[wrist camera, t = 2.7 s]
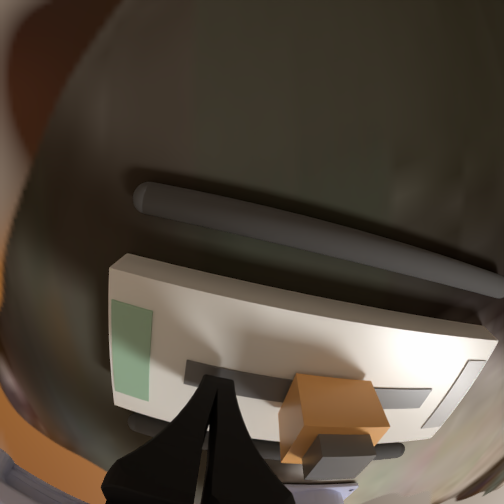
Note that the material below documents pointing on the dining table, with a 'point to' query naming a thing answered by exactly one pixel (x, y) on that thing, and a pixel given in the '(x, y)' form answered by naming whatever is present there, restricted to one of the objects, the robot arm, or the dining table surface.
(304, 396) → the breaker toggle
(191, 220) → the dressed cords
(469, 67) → the dining table surface
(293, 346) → the white slider switch panel
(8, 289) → the dining table surface
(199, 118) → the dining table surface
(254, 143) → the dining table surface
